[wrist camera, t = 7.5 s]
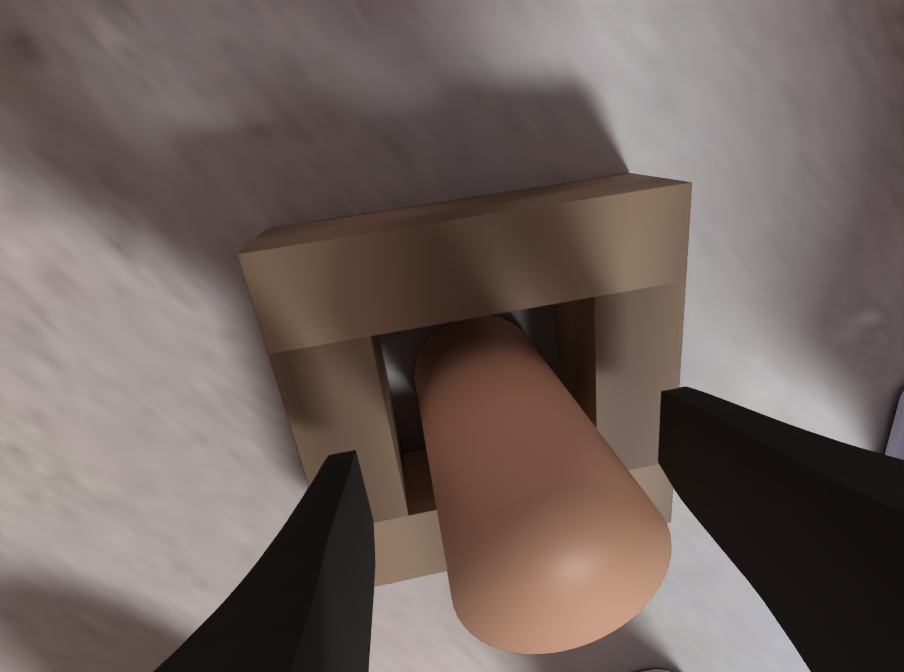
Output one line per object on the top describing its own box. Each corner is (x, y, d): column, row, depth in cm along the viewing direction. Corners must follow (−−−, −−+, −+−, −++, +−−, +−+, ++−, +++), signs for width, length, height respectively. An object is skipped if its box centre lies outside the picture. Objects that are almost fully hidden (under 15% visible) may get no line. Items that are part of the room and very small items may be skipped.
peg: (526, 300, 15) (668, 455, 8) (543, 407, 17) (674, 618, 10) (400, 332, 15) (427, 521, 8) (430, 438, 17) (475, 677, 9)
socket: (630, 173, 14) (692, 182, 11) (626, 463, 18) (671, 522, 16) (266, 229, 13) (237, 254, 11) (347, 521, 17) (342, 593, 15)
